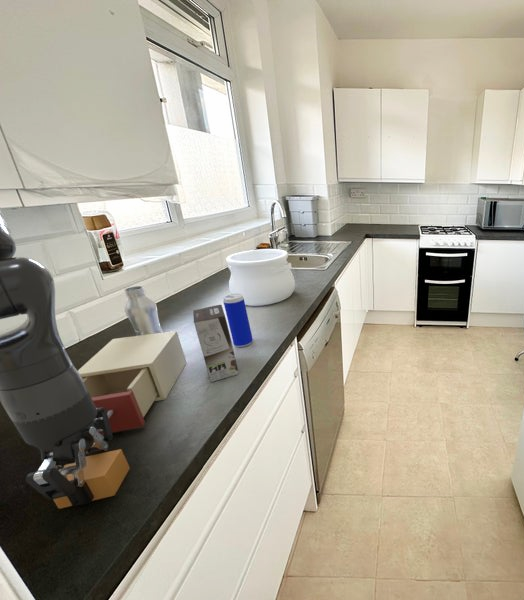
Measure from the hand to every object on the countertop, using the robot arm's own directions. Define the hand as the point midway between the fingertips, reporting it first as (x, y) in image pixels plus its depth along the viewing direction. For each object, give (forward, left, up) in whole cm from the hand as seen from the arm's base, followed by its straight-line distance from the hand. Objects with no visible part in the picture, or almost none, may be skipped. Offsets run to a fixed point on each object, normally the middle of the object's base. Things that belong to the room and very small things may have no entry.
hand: (95, 485), depth 50 cm
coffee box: (+13, +30, -1) cm, 33 cm away
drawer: (-4, +17, 0) cm, 17 cm away
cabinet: (-4, +29, 0) cm, 29 cm away
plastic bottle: (-6, +43, -1) cm, 43 cm away
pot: (+19, +82, -1) cm, 84 cm away
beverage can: (+16, +43, -1) cm, 46 cm away
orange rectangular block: (0, 0, 0) cm, 0 cm away
